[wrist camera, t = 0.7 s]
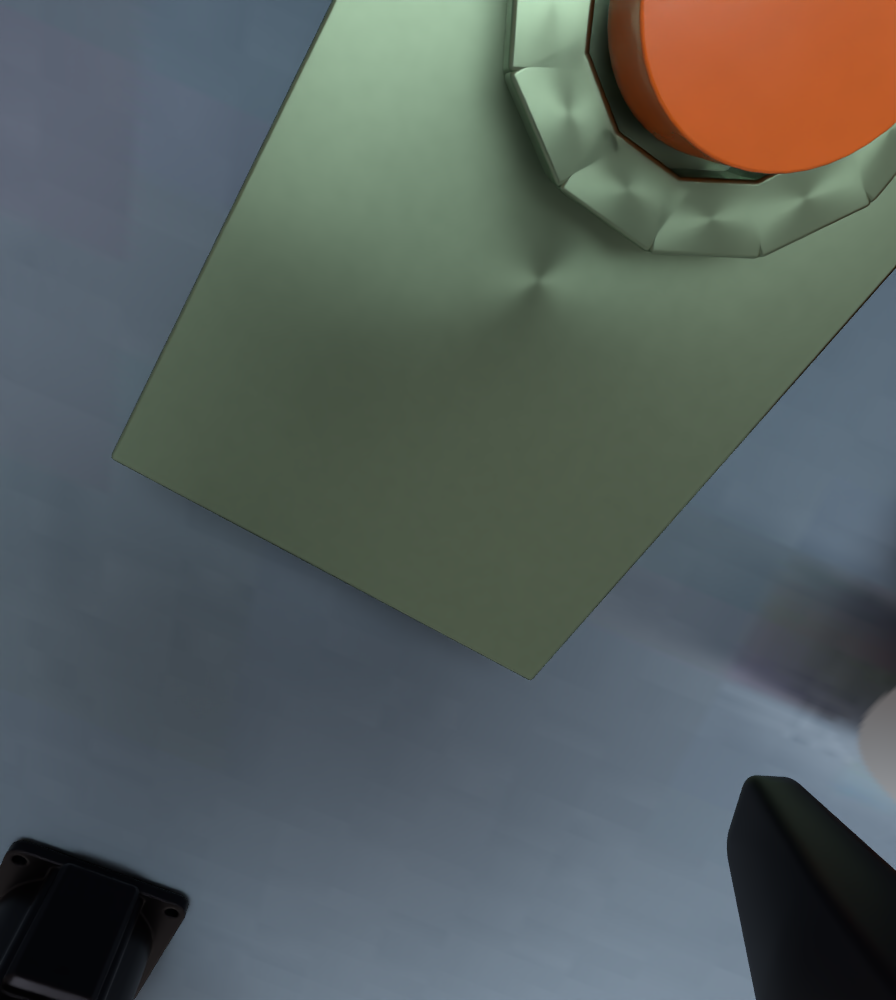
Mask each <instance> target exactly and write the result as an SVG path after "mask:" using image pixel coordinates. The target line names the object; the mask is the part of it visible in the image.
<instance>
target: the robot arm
mask: <svg viewBox="0 0 896 1000" xmlns="http://www.w3.org/2000/svg"><path fill="white" fill-rule="evenodd" d="M727 856H728V862H729V867H730V872H731V877H732V882H733V887H734V892H735V897H736V902H737V907H738V912H739V917H740V922H741V927H742V932H743V937H744V942H745V947H746V952H747V957H748V962H749V967H750V972H751V977H752V982H753V987H754V992H755V997H756V1000H896V870H894V869H893V868H892V867H891V866H890V865H889V864H888V863H887V862H886V861H884V860H883V859H882V858H881V857H880V856H879V855H878V854H877V853H876V852H874V851H873V850H872V849H871V848H870V847H869V846H868V845H867V844H866V843H864V842H863V841H862V840H861V839H860V838H859V837H858V836H857V835H856V834H854V833H853V832H852V831H851V830H850V829H849V828H848V827H847V826H846V825H844V824H843V823H842V822H841V821H840V820H839V819H838V818H837V817H836V816H834V815H833V814H832V813H831V812H830V811H829V810H828V809H827V808H826V807H824V806H823V805H822V804H821V803H820V802H819V801H818V800H817V799H816V798H814V797H813V796H812V795H811V794H810V793H809V792H808V791H807V790H806V789H804V788H803V787H802V786H801V785H800V784H799V783H797V782H796V781H794V780H793V779H791V778H787V777H776V776H759V775H755V776H751V777H749V778H748V779H747V780H746V781H745V783H744V785H743V787H742V790H741V793H740V797H739V800H738V803H737V806H736V809H735V813H734V816H733V819H732V822H731V825H730V829H729V832H728V837H727ZM188 905H189V903H188V901H187V900H186V899H185V898H184V897H183V896H181V895H178V894H175V893H173V892H170V891H167V890H164V889H161V888H158V887H156V886H153V885H150V884H147V883H144V882H141V881H138V880H136V879H133V878H130V877H127V876H124V875H121V874H118V873H116V872H113V871H110V870H107V869H104V868H101V867H98V866H96V865H93V864H90V863H87V862H84V861H81V860H78V859H76V858H73V857H70V856H67V855H64V854H61V853H59V852H56V851H53V850H50V849H47V848H44V847H41V846H39V845H36V844H33V843H30V842H26V841H17V842H14V843H13V844H12V845H11V846H10V848H9V850H8V851H7V853H6V855H5V857H4V859H3V861H2V864H1V866H0V1000H134V999H135V998H136V996H137V995H138V993H139V991H140V990H141V988H142V986H143V985H144V983H145V981H146V980H147V978H148V977H149V975H150V973H151V972H152V970H153V968H154V967H155V965H156V963H157V962H158V960H159V959H160V957H161V955H162V954H163V952H164V950H165V949H166V947H167V945H168V944H169V942H170V940H171V939H172V937H173V936H174V934H175V932H176V931H177V929H178V927H179V926H180V924H181V922H182V921H183V919H184V918H185V915H186V912H187V909H188Z"/></svg>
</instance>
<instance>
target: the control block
mask: <svg viewBox="0 0 896 1000" xmlns="http://www.w3.org/2000/svg"><path fill="white" fill-rule="evenodd" d="M609 2H610V0H332V2H331V4H330V6H329V8H328V10H327V12H326V14H325V16H324V18H323V20H322V22H321V24H320V27H319V29H318V31H317V33H316V35H315V37H314V39H313V41H312V43H311V45H310V47H309V49H308V51H307V53H306V55H305V57H304V59H303V62H302V64H301V66H300V68H299V70H298V72H297V74H296V76H295V78H294V80H293V82H292V84H291V86H290V88H289V90H288V92H287V94H286V97H285V99H284V101H283V103H282V105H281V107H280V109H279V111H278V113H277V115H276V117H275V119H274V121H273V123H272V125H271V127H270V129H269V131H268V134H267V136H266V138H265V140H264V142H263V144H262V146H261V148H260V150H259V152H258V154H257V156H256V158H255V160H254V162H253V164H252V166H251V169H250V171H249V173H248V175H247V177H246V179H245V181H244V183H243V185H242V187H241V189H240V191H239V193H238V195H237V197H236V199H235V201H234V204H233V206H232V208H231V210H230V212H229V214H228V216H227V218H226V220H225V222H224V224H223V226H222V228H221V230H220V232H219V234H218V236H217V238H216V241H215V243H214V245H213V247H212V249H211V251H210V253H209V255H208V257H207V259H206V261H205V263H204V265H203V267H202V269H201V271H200V273H199V276H198V278H197V280H196V282H195V284H194V286H193V288H192V290H191V292H190V294H189V296H188V298H187V300H186V302H185V304H184V306H183V308H182V311H181V313H180V315H179V317H178V319H177V321H176V323H175V325H174V327H173V329H172V331H171V333H170V335H169V337H168V339H167V341H166V343H165V345H164V348H163V350H162V352H161V354H160V356H159V358H158V360H157V362H156V364H155V366H154V368H153V370H152V372H151V374H150V376H149V378H148V380H147V383H146V385H145V387H144V389H143V391H142V393H141V395H140V397H139V399H138V401H137V403H136V405H135V407H134V409H133V411H132V413H131V415H130V418H129V420H128V422H127V424H126V426H125V428H124V430H123V432H122V434H121V436H120V438H119V440H118V442H117V444H116V446H115V448H114V450H113V452H112V459H113V460H115V461H117V462H119V463H120V464H122V465H124V466H126V467H128V468H130V469H132V470H134V471H136V472H137V473H139V474H141V475H143V476H145V477H147V478H149V479H151V480H153V481H154V482H156V483H158V484H160V485H162V486H164V487H166V488H168V489H169V490H171V491H173V492H175V493H177V494H179V495H181V496H183V497H185V498H186V499H188V500H190V501H192V502H194V503H196V504H198V505H200V506H202V507H203V508H205V509H207V510H209V511H211V512H213V513H215V514H217V515H219V516H220V517H222V518H224V519H226V520H228V521H230V522H232V523H234V524H236V525H237V526H239V527H241V528H243V529H245V530H247V531H249V532H251V533H253V534H254V535H256V536H258V537H260V538H262V539H264V540H266V541H268V542H270V543H271V544H273V545H275V546H277V547H279V548H281V549H283V550H285V551H287V552H288V553H290V554H292V555H294V556H296V557H298V558H300V559H302V560H303V561H305V562H307V563H309V564H311V565H313V566H315V567H317V568H319V569H320V570H322V571H324V572H326V573H328V574H330V575H332V576H334V577H336V578H337V579H339V580H341V581H343V582H345V583H347V584H349V585H351V586H353V587H354V588H356V589H358V590H360V591H362V592H364V593H366V594H368V595H370V596H371V597H373V598H375V599H377V600H379V601H381V602H383V603H385V604H387V605H388V606H390V607H392V608H394V609H396V610H398V611H400V612H402V613H404V614H405V615H407V616H409V617H411V618H413V619H415V620H417V621H419V622H420V623H422V624H424V625H426V626H428V627H430V628H432V629H434V630H436V631H437V632H439V633H441V634H443V635H445V636H447V637H449V638H451V639H453V640H454V641H456V642H458V643H460V644H462V645H464V646H466V647H468V648H470V649H471V650H473V651H475V652H477V653H479V654H481V655H483V656H485V657H487V658H488V659H490V660H492V661H494V662H496V663H498V664H500V665H502V666H504V667H505V668H507V669H509V670H511V671H513V672H515V673H517V674H519V675H521V676H522V677H524V678H526V679H528V680H532V679H533V678H534V677H535V676H536V675H537V673H538V672H539V671H540V670H541V669H542V668H543V667H544V666H545V664H546V663H547V662H548V661H549V660H550V659H551V658H552V657H553V655H554V654H555V653H556V652H557V651H558V650H559V649H560V647H561V646H562V645H563V644H564V643H565V642H566V641H567V640H568V638H569V637H570V636H571V635H572V634H573V633H574V632H575V630H576V629H577V628H578V627H579V626H580V625H581V624H582V623H583V621H584V620H585V619H586V618H587V617H588V616H589V615H590V613H591V612H592V611H593V610H594V609H595V608H596V607H597V606H598V604H599V603H600V602H601V601H602V600H603V599H604V598H605V597H606V595H607V594H608V593H609V592H610V591H611V590H612V589H613V587H614V586H615V585H616V584H617V583H618V582H619V581H620V580H621V578H622V577H623V576H624V575H625V574H626V573H627V572H628V570H629V569H630V568H631V567H632V566H633V565H634V564H635V563H636V561H637V560H638V559H639V558H640V557H641V556H642V555H643V553H644V552H645V551H646V550H647V549H648V548H649V547H650V546H651V544H652V543H653V542H654V541H655V540H656V539H657V538H658V537H659V535H660V534H661V533H662V532H663V531H664V530H665V529H666V527H667V526H668V525H669V524H670V523H671V522H672V521H673V520H674V518H675V517H676V516H677V515H678V514H679V513H680V512H681V510H682V509H683V508H684V507H685V506H686V505H687V504H688V503H689V501H690V500H691V499H692V498H693V497H694V496H695V495H696V493H697V492H698V491H699V490H700V489H701V488H702V487H703V486H704V484H705V483H706V482H707V481H708V480H709V479H710V478H711V477H712V475H713V474H714V473H715V472H716V471H717V470H718V469H719V467H720V466H721V465H722V464H723V463H724V462H725V461H726V460H727V458H728V457H729V456H730V455H731V454H732V453H733V452H734V450H735V449H736V448H737V447H738V446H739V445H740V444H741V443H742V441H743V440H744V439H745V438H746V437H747V436H748V435H749V433H750V432H751V431H752V430H753V429H754V428H755V427H756V426H757V424H758V423H759V422H760V421H761V420H762V419H763V418H764V416H765V415H766V414H767V413H768V412H769V411H770V410H771V409H772V407H773V406H774V405H775V404H776V403H777V402H778V401H779V400H780V398H781V397H782V396H783V395H784V394H785V393H786V392H787V390H788V389H789V388H790V387H791V386H792V385H793V384H794V383H795V381H796V380H797V379H798V378H799V377H800V376H801V375H802V373H803V372H804V371H805V370H806V369H807V368H808V367H809V366H810V364H811V363H812V362H813V361H814V360H815V359H816V358H817V356H818V355H819V354H820V353H821V352H822V351H823V350H824V349H825V347H826V346H827V345H828V344H829V343H830V342H831V341H832V340H833V338H834V337H835V336H836V335H837V334H838V333H839V332H840V330H841V329H842V328H843V327H844V326H845V325H846V324H847V323H848V321H849V320H850V319H851V318H852V317H853V316H854V315H855V313H856V312H857V311H858V310H859V309H860V308H861V307H862V306H863V304H864V303H865V302H866V301H867V300H868V299H869V298H870V296H871V295H872V294H873V293H874V292H875V291H876V290H877V289H878V287H879V286H880V285H881V284H882V283H883V282H884V281H885V280H886V278H887V277H888V276H889V275H890V274H891V273H892V272H893V270H894V269H895V268H896V123H895V124H894V125H893V126H891V127H890V128H889V129H888V130H887V131H886V132H884V133H883V134H882V135H880V136H879V137H878V138H876V139H875V140H873V141H872V142H871V143H869V144H868V145H866V146H864V147H863V148H861V149H859V150H857V151H856V152H854V153H852V154H850V155H849V156H847V157H844V158H842V159H840V160H837V161H835V162H833V163H830V164H828V165H825V166H821V167H818V168H814V169H811V170H807V171H801V172H794V173H788V174H764V173H755V172H748V171H744V170H741V169H737V168H733V167H730V166H726V165H723V164H719V163H716V162H712V161H709V160H705V159H702V158H698V157H695V156H691V155H688V154H684V153H682V152H680V151H678V150H675V149H673V148H671V147H669V146H667V145H666V144H664V143H663V142H661V141H660V140H658V139H657V138H655V137H654V136H653V135H652V134H651V133H650V132H649V131H647V130H646V129H645V128H644V127H643V126H642V124H641V123H640V122H639V121H638V120H637V119H636V117H635V116H634V115H633V113H632V112H631V110H630V109H629V107H628V105H627V104H626V102H625V101H624V99H623V96H622V94H621V92H620V90H619V88H618V85H617V83H616V79H615V76H614V73H613V69H612V66H611V60H610V54H609V49H608V32H607V24H608V7H609Z"/></svg>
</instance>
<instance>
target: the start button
mask: <svg viewBox="0 0 896 1000" xmlns="http://www.w3.org/2000/svg"><path fill="white" fill-rule="evenodd" d="M607 32H608V49H609V54H610V60H611V66H612V69H613V73H614V76H615V79H616V83H617V85H618V88H619V90H620V92H621V94H622V96H623V99H624V101H625V102H626V104H627V105H628V107H629V109H630V110H631V112H632V113H633V115H634V116H635V117H636V119H637V120H638V121H639V122H640V123H641V124H642V126H643V127H644V128H645V129H646V130H647V131H649V132H650V133H651V134H652V135H653V136H654V137H655V138H657V139H658V140H660V141H661V142H663V143H664V144H666V145H667V146H669V147H671V148H673V149H675V150H678V151H680V152H682V153H684V154H688V155H691V156H695V157H698V158H702V159H705V160H709V161H712V162H716V163H719V164H723V165H726V166H730V167H733V168H737V169H741V170H744V171H748V172H755V173H764V174H788V173H794V172H801V171H807V170H811V169H814V168H818V167H821V166H825V165H828V164H830V163H833V162H835V161H837V160H840V159H842V158H844V157H847V156H849V155H850V154H852V153H854V152H856V151H857V150H859V149H861V148H863V147H864V146H866V145H868V144H869V143H871V142H872V141H873V140H875V139H876V138H878V137H879V136H880V135H882V134H883V133H884V132H886V131H887V130H888V129H889V128H890V127H891V126H893V125H894V124H895V123H896V0H610V2H609V7H608V24H607Z"/></svg>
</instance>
